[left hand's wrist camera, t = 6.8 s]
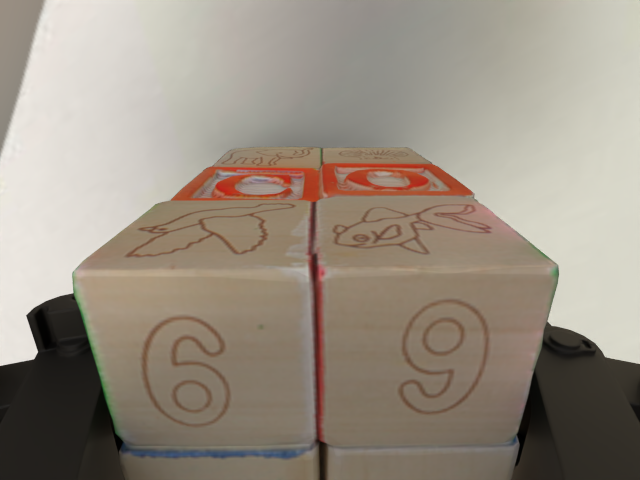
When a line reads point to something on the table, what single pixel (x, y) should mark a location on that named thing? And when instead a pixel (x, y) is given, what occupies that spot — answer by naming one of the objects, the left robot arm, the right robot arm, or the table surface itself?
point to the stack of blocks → (317, 323)
